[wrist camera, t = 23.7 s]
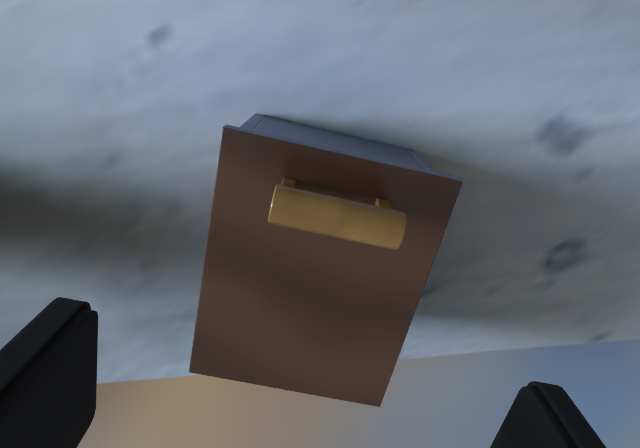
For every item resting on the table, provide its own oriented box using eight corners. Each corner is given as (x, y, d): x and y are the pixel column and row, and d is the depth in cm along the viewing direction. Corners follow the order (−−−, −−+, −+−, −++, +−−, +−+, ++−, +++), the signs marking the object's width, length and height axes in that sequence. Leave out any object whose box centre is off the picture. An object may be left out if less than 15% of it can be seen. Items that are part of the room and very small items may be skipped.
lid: (225, 124, 22) (199, 143, 17) (458, 177, 23) (493, 209, 18) (192, 363, 27) (165, 427, 23) (378, 398, 28) (389, 465, 24)
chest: (255, 113, 32) (224, 138, 22) (413, 149, 33) (452, 190, 23) (227, 281, 38) (192, 363, 27) (364, 308, 38) (378, 397, 28)
